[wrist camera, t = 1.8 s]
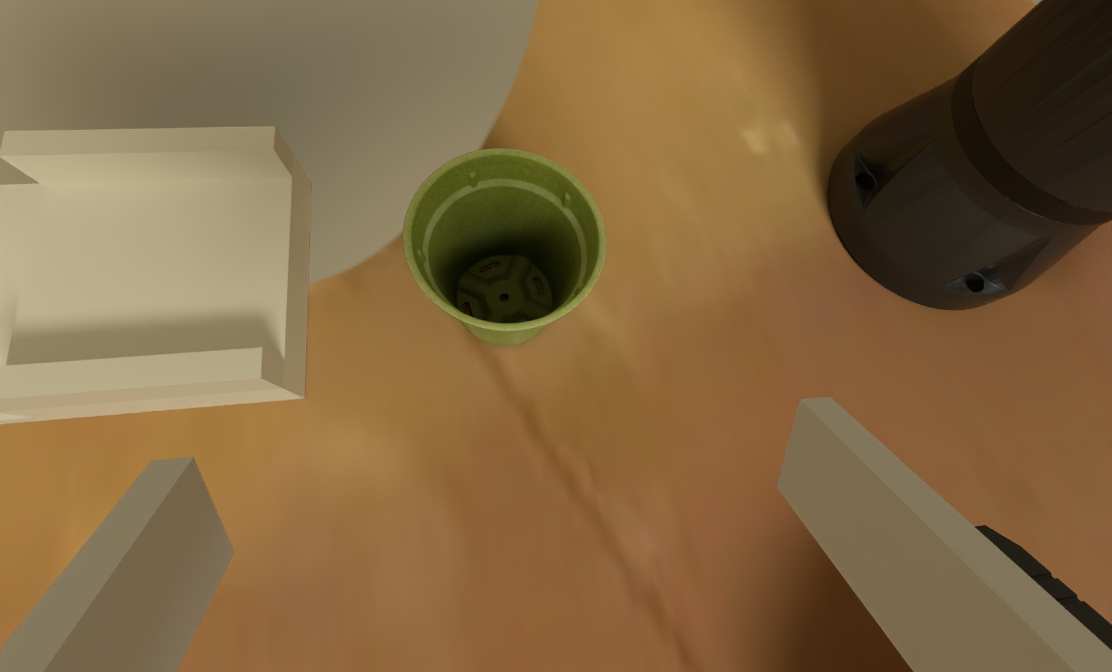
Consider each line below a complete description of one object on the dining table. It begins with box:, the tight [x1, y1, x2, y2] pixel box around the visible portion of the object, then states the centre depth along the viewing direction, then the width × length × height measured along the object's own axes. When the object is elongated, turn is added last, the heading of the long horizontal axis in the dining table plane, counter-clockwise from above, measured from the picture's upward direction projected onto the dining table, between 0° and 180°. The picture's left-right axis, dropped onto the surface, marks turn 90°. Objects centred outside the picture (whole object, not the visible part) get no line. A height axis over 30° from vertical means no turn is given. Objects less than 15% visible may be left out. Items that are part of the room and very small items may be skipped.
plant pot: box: [403, 148, 606, 346], centre depth 28 cm, size 9×9×9 cm
